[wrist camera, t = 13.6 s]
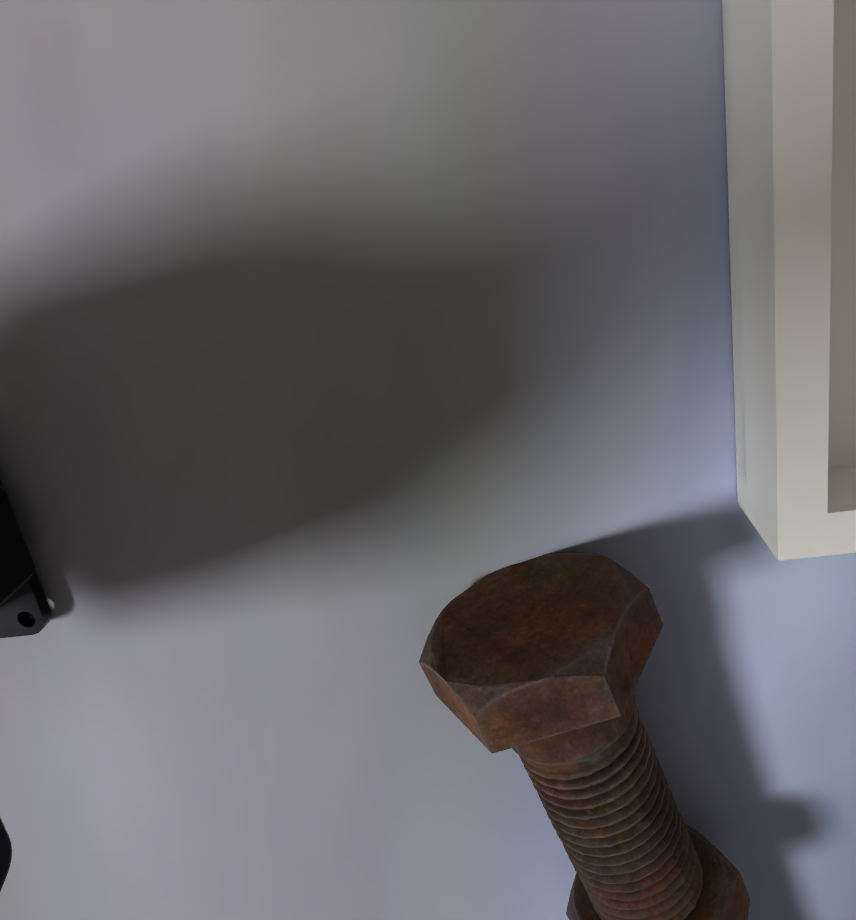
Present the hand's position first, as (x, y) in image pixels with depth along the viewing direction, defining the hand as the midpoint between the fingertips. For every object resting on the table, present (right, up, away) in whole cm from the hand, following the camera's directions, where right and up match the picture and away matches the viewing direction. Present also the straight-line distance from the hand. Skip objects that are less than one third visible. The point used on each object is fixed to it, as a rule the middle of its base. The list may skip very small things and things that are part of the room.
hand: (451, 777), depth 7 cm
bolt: (+5, -6, +17) cm, 18 cm away
